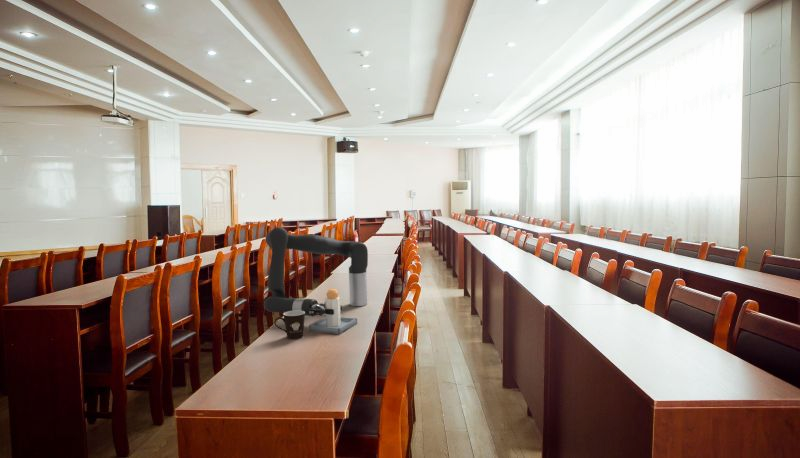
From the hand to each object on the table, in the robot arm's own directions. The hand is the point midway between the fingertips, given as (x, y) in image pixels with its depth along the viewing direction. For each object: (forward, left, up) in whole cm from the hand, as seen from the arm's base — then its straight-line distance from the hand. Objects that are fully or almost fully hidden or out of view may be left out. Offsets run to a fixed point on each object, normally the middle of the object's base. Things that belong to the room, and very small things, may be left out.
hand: (337, 310), depth 192 cm
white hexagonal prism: (0, -2, -7) cm, 7 cm away
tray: (0, -2, -8) cm, 8 cm away
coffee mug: (+17, -12, -8) cm, 22 cm away
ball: (0, -3, +7) cm, 7 cm away
